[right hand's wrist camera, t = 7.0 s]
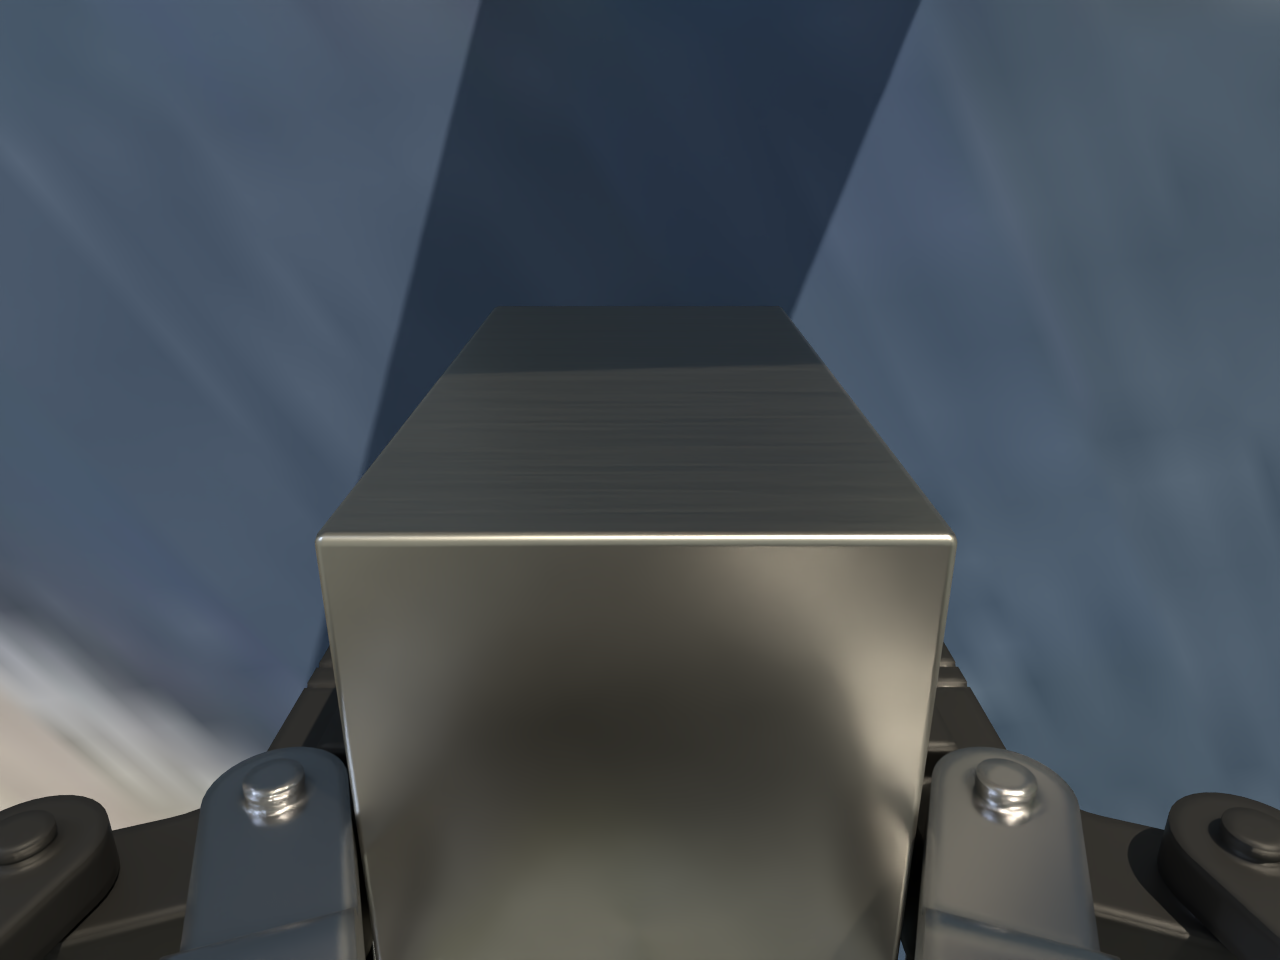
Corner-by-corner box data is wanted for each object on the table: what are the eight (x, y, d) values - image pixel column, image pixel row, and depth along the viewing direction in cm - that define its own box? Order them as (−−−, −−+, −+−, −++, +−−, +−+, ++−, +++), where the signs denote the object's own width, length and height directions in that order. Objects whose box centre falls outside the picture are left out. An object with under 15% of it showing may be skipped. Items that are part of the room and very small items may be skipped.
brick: (517, 698, 18) (409, 1206, 9) (493, 305, 15) (308, 536, 7) (760, 698, 18) (865, 1207, 9) (782, 305, 15) (962, 536, 7)
